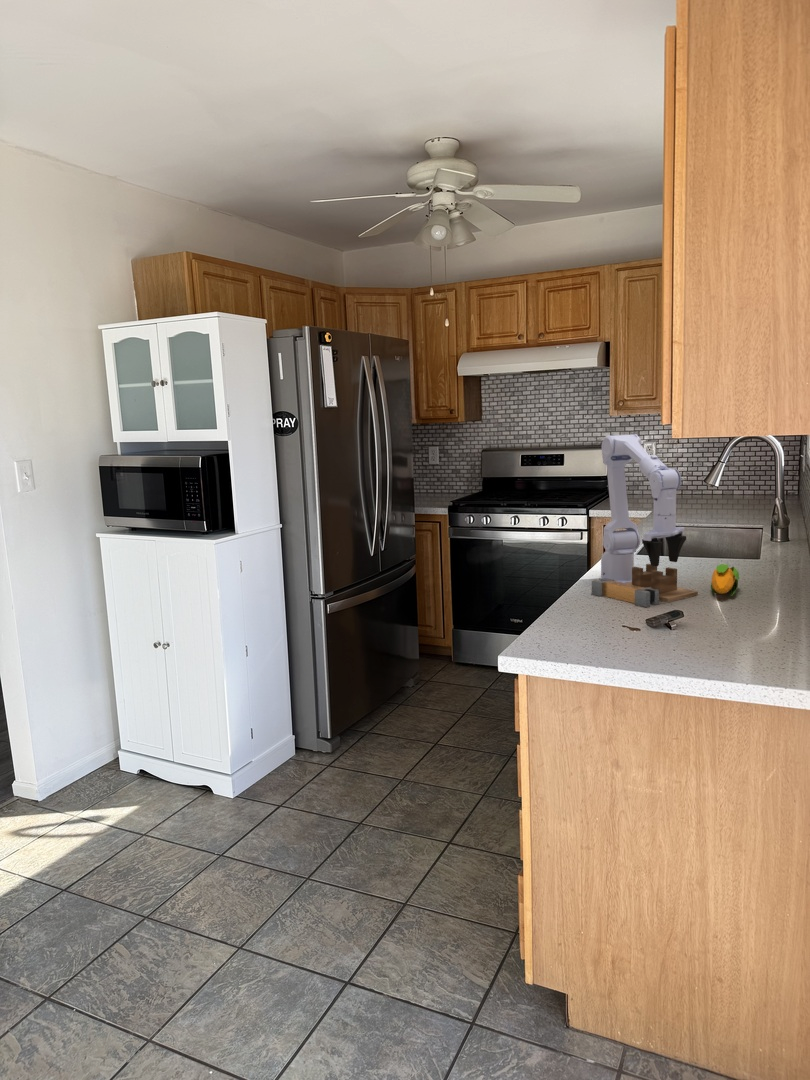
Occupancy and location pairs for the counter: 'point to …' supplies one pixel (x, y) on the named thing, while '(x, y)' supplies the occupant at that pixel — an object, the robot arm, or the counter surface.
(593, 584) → the spanner
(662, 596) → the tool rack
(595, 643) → the counter surface
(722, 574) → the corn
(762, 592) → the counter surface
